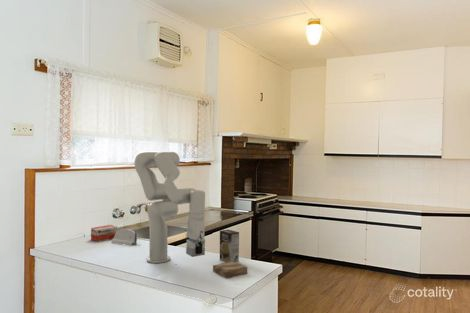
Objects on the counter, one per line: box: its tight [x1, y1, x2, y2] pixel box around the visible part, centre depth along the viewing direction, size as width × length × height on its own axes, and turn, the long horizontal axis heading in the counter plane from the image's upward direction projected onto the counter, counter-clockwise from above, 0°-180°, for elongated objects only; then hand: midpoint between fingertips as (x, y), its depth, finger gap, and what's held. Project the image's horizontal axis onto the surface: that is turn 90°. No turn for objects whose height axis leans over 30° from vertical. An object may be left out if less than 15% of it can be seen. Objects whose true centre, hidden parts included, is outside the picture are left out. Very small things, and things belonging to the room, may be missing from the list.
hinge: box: [111, 228, 139, 246], centre depth 228 cm, size 17×5×10 cm, turn 66°
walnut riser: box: [212, 261, 248, 279], centre depth 171 cm, size 12×12×3 cm
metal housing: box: [185, 238, 206, 258], centre depth 174 cm, size 6×7×7 cm
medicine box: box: [90, 224, 118, 242], centre depth 239 cm, size 15×8×8 cm, turn 138°
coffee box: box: [219, 229, 240, 263], centre depth 189 cm, size 9×6×16 cm
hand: (195, 251), depth 174 cm, fingers closed on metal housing, 6 cm apart
